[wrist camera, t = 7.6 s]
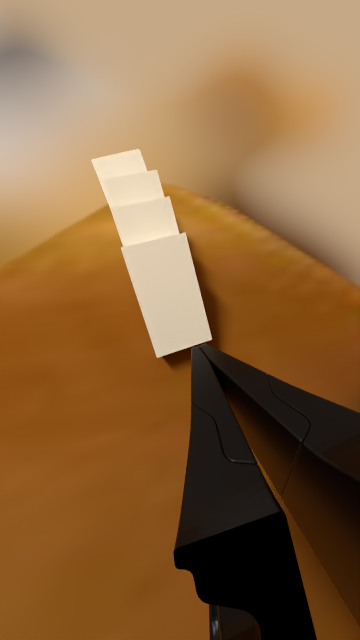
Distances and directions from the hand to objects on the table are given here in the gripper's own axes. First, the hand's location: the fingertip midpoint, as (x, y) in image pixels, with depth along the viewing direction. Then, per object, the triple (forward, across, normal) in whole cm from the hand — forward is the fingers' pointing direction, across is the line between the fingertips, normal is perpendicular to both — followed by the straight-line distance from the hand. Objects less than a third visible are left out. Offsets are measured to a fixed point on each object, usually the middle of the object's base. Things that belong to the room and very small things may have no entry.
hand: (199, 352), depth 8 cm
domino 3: (+9, 0, 0) cm, 9 cm away
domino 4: (+6, 0, +4) cm, 7 cm away
